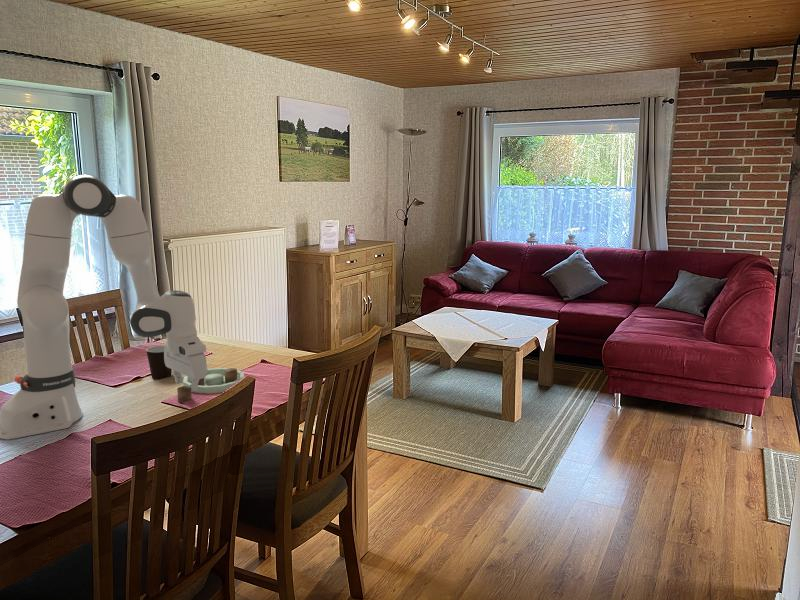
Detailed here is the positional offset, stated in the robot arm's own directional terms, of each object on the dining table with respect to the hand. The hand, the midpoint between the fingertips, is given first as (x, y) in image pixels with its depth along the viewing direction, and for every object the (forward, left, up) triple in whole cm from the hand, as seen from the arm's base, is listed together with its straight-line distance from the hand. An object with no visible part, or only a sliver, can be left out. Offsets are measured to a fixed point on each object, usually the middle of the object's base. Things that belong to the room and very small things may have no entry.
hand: (186, 386), depth 194 cm
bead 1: (-1, 0, -5) cm, 5 cm away
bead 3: (+17, +3, -4) cm, 18 cm away
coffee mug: (+6, +29, -5) cm, 30 cm away
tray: (+13, +7, -5) cm, 16 cm away
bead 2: (+7, +7, -4) cm, 11 cm away
